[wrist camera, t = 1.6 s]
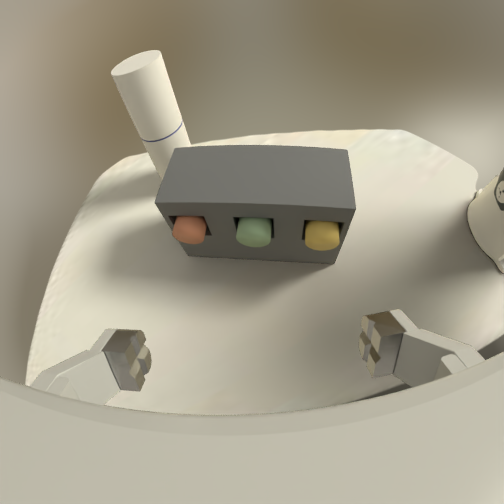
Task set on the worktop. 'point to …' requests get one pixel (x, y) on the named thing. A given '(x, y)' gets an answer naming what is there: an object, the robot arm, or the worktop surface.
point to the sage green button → (254, 231)
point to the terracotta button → (190, 229)
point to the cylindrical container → (152, 105)
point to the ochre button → (321, 235)
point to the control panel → (259, 197)
